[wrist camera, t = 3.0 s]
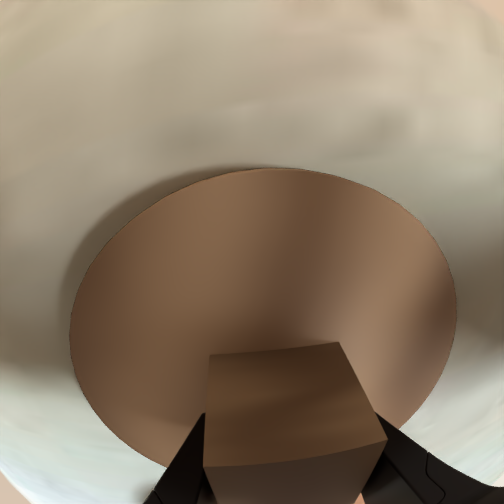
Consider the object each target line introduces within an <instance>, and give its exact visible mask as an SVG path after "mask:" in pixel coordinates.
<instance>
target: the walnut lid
mask: <svg viewBox="0 0 504 504" xmlns="http://www.w3.org/2000/svg"><path fill="white" fill-rule="evenodd" d="M456 314H457V310H456V295H455V288H454V282H453V278H452V275H451V272H450V269H449V267H448V264H447V261H446V259H445V257H444V255H443V253H442V251H441V250H440V248H439V246H438V244H437V243H436V241H435V239H434V238H433V237H432V236H431V234H430V233H429V232H428V231H427V230H426V228H425V227H424V226H423V225H422V224H421V222H420V221H419V220H417V219H416V218H415V217H414V216H413V215H412V214H410V213H409V212H408V211H407V210H406V209H404V208H403V207H402V206H401V205H400V204H398V203H396V202H395V201H393V200H391V199H390V198H388V197H386V196H384V195H383V194H381V193H379V192H377V191H376V190H374V189H371V188H369V187H366V186H363V185H361V184H358V183H355V182H352V181H350V180H347V179H344V178H341V177H337V176H334V175H330V174H325V173H320V172H314V171H309V170H303V169H290V168H260V169H252V170H244V171H237V172H230V173H226V174H223V175H219V176H216V177H212V178H209V179H205V180H202V181H198V182H196V183H194V184H191V185H189V186H187V187H185V188H182V189H180V190H178V191H176V192H174V193H172V194H170V195H167V196H166V197H164V198H163V199H161V200H160V201H158V202H157V203H155V204H154V205H152V206H151V207H149V208H148V209H146V210H145V211H143V212H142V213H140V214H139V215H138V216H136V217H135V218H134V219H132V220H131V221H130V222H129V223H128V224H127V225H125V226H124V227H123V228H122V229H121V230H120V231H119V232H118V233H117V234H116V235H115V236H114V237H113V238H112V239H111V240H110V241H109V242H108V243H107V244H106V245H105V246H104V248H103V249H102V250H101V252H100V253H99V254H98V256H97V257H96V258H95V260H94V261H93V263H92V264H91V265H90V267H89V269H88V271H87V273H86V275H85V277H84V279H83V281H82V283H81V285H80V287H79V289H78V292H77V295H76V299H75V302H74V306H73V310H72V313H71V323H70V334H69V337H70V350H71V358H72V362H73V366H74V370H75V374H76V377H77V380H78V382H79V384H80V387H81V389H82V391H83V394H84V395H85V397H86V399H87V400H88V402H89V404H90V405H91V407H92V409H93V410H94V412H95V413H96V414H97V415H98V417H99V418H100V419H101V420H102V421H103V423H104V424H105V425H106V426H107V427H108V428H109V429H110V430H111V431H112V432H113V433H114V434H115V435H116V436H117V437H118V438H119V439H121V440H122V441H123V442H124V443H126V444H127V445H128V446H130V447H131V448H132V449H134V450H135V451H137V452H138V453H140V454H142V455H143V456H145V457H147V458H148V459H150V460H152V461H154V462H156V463H158V464H160V465H162V466H164V467H167V468H168V466H169V464H170V463H171V461H172V460H173V458H174V457H175V455H176V454H177V452H178V450H179V449H180V447H181V446H182V444H183V443H184V441H185V439H186V438H187V436H188V435H189V433H190V431H191V430H192V428H193V427H194V425H195V423H196V422H197V420H198V419H199V417H200V415H201V414H202V413H204V412H206V415H205V434H204V454H203V468H204V471H205V473H206V476H207V478H208V481H209V483H210V486H211V488H212V490H213V493H214V495H215V497H216V500H217V502H218V504H354V503H355V501H356V500H357V498H358V496H359V495H360V493H361V491H362V489H363V488H364V486H365V484H366V482H367V480H368V479H369V477H370V475H371V473H372V471H373V469H374V467H375V465H376V463H377V461H378V459H379V457H380V455H381V453H382V451H383V449H384V447H385V445H386V443H387V440H388V438H387V436H386V434H385V432H384V430H383V428H382V426H381V424H380V422H379V420H378V418H377V416H376V414H375V412H376V413H378V414H379V415H380V416H381V417H383V418H384V419H385V420H387V421H388V422H389V423H391V424H392V425H393V426H394V427H396V428H397V429H399V428H400V427H401V426H402V425H403V424H405V423H406V422H407V421H408V420H409V419H410V418H411V416H412V415H413V414H414V413H415V412H416V411H417V410H418V409H419V407H420V406H421V405H422V404H423V402H424V401H425V400H426V398H427V397H428V396H429V394H430V393H431V391H432V390H433V388H434V386H435V385H436V383H437V381H438V379H439V377H440V376H441V374H442V371H443V369H444V367H445V365H446V362H447V360H448V357H449V354H450V351H451V347H452V344H453V340H454V334H455V327H456ZM374 411H375V412H374Z"/></svg>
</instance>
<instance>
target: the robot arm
mask: <svg viewBox="0 0 504 504" xmlns="http://www.w3.org/2000/svg"><path fill="white" fill-rule="evenodd" d="M374 412H375V411H374ZM375 414H376V416H377V418H378V420H379V422H380V424H381V426H382V428H383V430H384V432H385V434H386V436H387V438H388V440H387V443H386V445H385V447H384V449H383V451H382V453H381V455H380V457H379V459H378V461H377V463H376V465H375V467H374V469H373V471H372V473H371V475H370V477H369V479H368V480H367V482H366V484H365V486H364V488H363V489H362V491H361V494H362V497H363V500H364V503H365V504H504V487H494V486H489V485H486V484H484V483H481V482H479V481H477V480H475V479H473V478H471V477H469V476H467V475H465V474H463V473H462V472H460V471H458V470H456V469H454V468H452V467H451V466H449V465H447V464H446V463H444V462H443V461H441V460H440V459H438V458H437V457H435V456H434V455H432V454H431V453H430V452H428V453H427V450H425V449H424V448H423V447H421V446H420V445H419V444H417V443H416V442H414V441H413V440H412V439H410V438H409V437H408V436H406V435H405V434H404V433H402V432H401V431H400V430H398V429H397V428H396V427H394V426H393V425H392V424H391V423H389V422H388V421H387V420H385V419H384V418H383V417H381V416H380V415H379V414H378V413H376V412H375ZM205 415H206V412H204V413H202V414H201V415H200V417H199V419H198V420H197V422H196V423H195V425H194V427H193V428H192V430H191V431H190V433H189V435H188V436H187V438H186V439H185V441H184V443H183V444H182V446H181V447H180V449H179V450H178V452H177V454H176V455H175V457H174V458H173V460H172V461H171V463H170V464H169V466H168V468H167V469H166V471H165V472H164V474H163V475H162V477H161V478H160V480H159V481H158V483H157V484H156V486H155V487H154V490H153V491H152V492H151V493H150V495H149V496H148V498H147V499H146V500H145V502H144V503H143V504H218V502H217V500H216V497H215V495H214V493H213V490H212V488H211V486H210V483H209V481H208V478H207V476H206V473H205V471H204V468H203V454H204V434H205Z"/></svg>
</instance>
